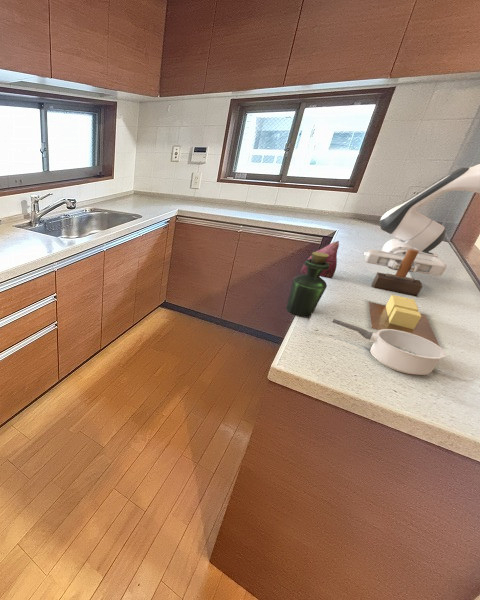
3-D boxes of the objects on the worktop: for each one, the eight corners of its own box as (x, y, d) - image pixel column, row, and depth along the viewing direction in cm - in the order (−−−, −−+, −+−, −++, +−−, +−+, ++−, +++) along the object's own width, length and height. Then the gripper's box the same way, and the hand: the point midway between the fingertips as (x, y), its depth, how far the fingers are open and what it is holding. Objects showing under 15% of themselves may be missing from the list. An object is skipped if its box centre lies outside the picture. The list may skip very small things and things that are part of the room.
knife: (405, 293, 109) (427, 251, 103) (406, 296, 108) (429, 253, 101) (378, 288, 113) (398, 246, 106) (379, 290, 111) (399, 248, 104)
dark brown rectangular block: (412, 293, 110) (419, 280, 107) (414, 300, 105) (422, 286, 103) (371, 285, 115) (377, 272, 113) (371, 290, 111) (378, 277, 109)
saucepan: (328, 329, 87) (336, 311, 85) (431, 362, 75) (444, 342, 73) (320, 347, 80) (328, 327, 77) (432, 387, 68) (447, 365, 65)
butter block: (407, 311, 94) (414, 299, 93) (411, 322, 89) (418, 309, 87) (385, 306, 97) (391, 294, 95) (387, 316, 91) (394, 304, 90)
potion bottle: (315, 321, 91) (341, 261, 83) (282, 314, 94) (303, 255, 86) (313, 310, 97) (336, 252, 89) (282, 303, 101) (302, 247, 92)
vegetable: (324, 280, 127) (349, 244, 121) (331, 286, 118) (359, 248, 112) (297, 268, 130) (320, 233, 123) (301, 274, 121) (326, 236, 114)
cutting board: (423, 319, 94) (425, 314, 93) (436, 351, 79) (439, 346, 79) (366, 305, 101) (368, 301, 100) (369, 332, 86) (371, 328, 86)
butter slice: (412, 325, 88) (419, 312, 86) (413, 329, 85) (421, 316, 84) (388, 319, 90) (395, 306, 88) (389, 323, 88) (396, 310, 86)
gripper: (367, 243, 120) (369, 252, 110) (444, 255, 109) (453, 266, 99) (360, 259, 122) (361, 269, 112) (434, 272, 112) (442, 285, 102)
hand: (405, 268), depth 106 cm, fingers closed on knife, 2 cm apart
